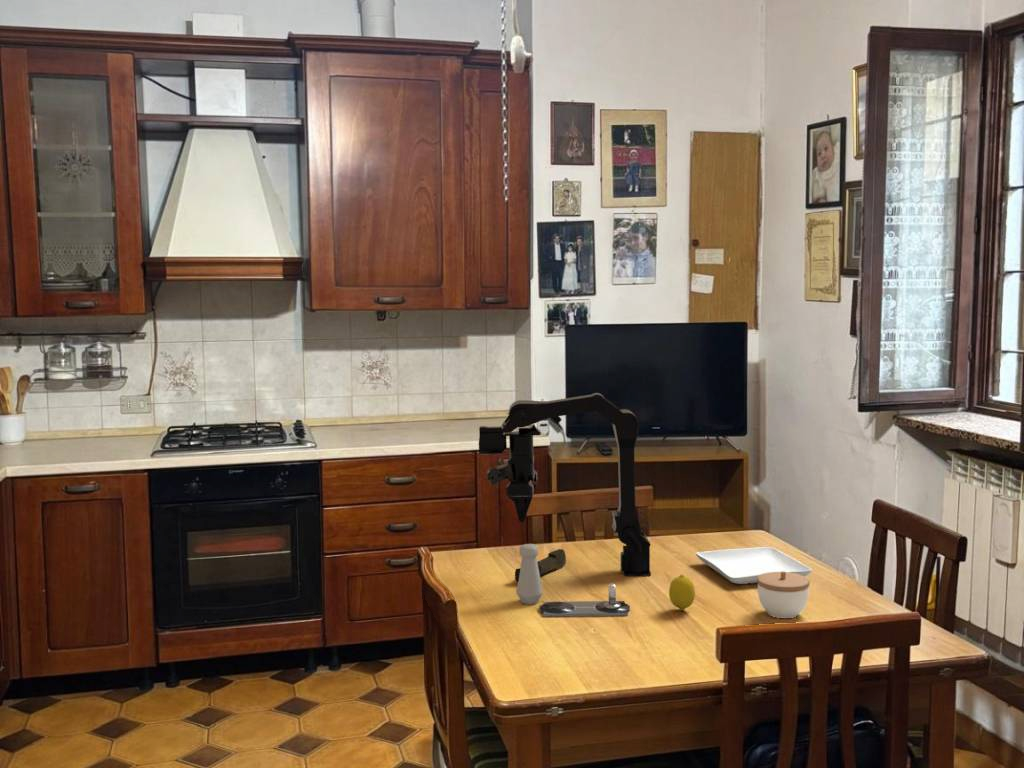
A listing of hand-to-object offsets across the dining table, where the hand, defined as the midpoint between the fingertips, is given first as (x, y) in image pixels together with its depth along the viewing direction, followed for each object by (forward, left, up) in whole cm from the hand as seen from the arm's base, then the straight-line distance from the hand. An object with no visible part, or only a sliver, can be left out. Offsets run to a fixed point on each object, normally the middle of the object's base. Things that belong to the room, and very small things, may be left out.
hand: (523, 517), depth 250 cm
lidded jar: (-55, +30, -15) cm, 65 cm away
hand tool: (-4, -1, -15) cm, 15 cm away
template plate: (-13, +26, -14) cm, 33 cm away
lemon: (-34, +27, -15) cm, 46 cm away
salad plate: (-55, 0, -15) cm, 57 cm away
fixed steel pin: (-19, +26, -14) cm, 36 cm away
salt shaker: (-1, +20, -15) cm, 25 cm away
